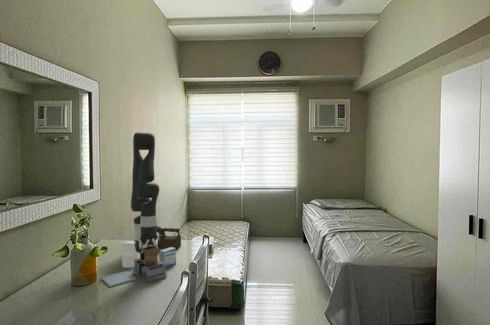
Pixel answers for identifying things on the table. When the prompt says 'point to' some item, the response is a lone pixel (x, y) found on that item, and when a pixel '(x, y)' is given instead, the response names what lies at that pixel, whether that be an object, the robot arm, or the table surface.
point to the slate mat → (118, 278)
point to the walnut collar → (150, 255)
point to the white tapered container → (129, 254)
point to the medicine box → (168, 256)
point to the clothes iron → (169, 238)
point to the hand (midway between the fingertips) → (149, 258)
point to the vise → (149, 271)
